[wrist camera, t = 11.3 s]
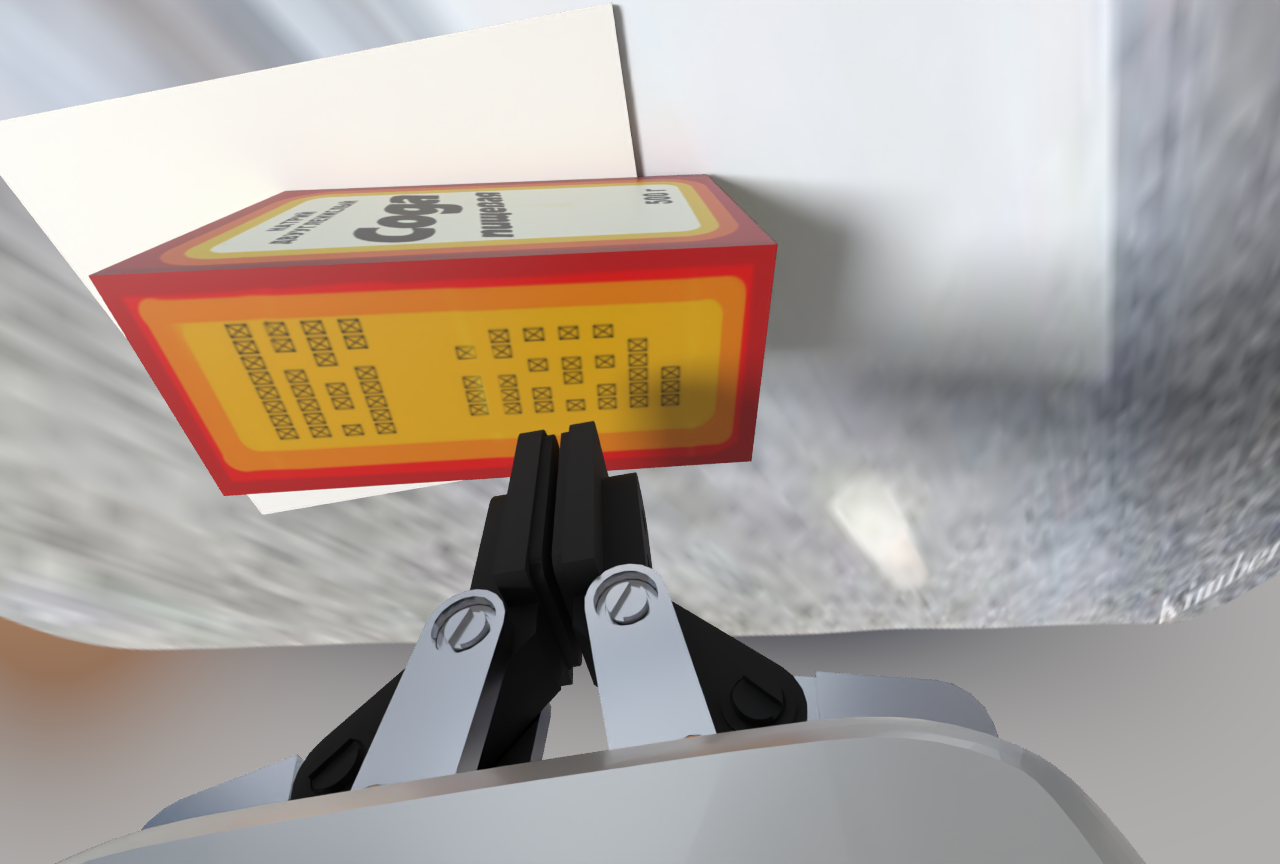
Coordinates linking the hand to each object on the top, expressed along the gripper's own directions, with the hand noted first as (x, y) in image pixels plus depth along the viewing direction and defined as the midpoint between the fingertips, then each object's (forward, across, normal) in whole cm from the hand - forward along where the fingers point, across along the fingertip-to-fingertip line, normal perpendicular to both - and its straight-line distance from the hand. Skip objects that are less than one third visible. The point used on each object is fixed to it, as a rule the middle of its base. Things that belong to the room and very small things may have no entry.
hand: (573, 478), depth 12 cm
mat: (+13, +8, 0) cm, 15 cm away
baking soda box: (+8, -5, 0) cm, 10 cm away
